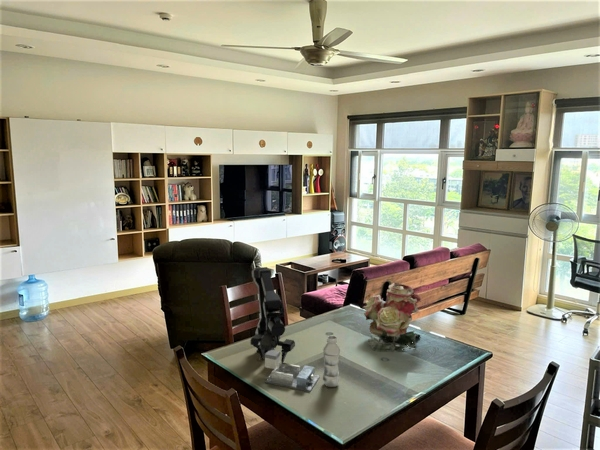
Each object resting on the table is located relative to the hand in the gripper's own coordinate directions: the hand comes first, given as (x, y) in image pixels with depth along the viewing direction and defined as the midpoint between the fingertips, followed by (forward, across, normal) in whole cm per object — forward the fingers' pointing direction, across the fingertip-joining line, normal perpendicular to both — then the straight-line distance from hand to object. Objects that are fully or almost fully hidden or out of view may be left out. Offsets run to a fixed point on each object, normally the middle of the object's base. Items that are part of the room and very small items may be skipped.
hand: (272, 361), depth 189 cm
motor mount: (+2, +12, -8) cm, 15 cm away
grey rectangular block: (+2, 0, 0) cm, 2 cm away
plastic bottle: (+2, +28, -6) cm, 29 cm away
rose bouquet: (+2, +44, +42) cm, 61 cm away
